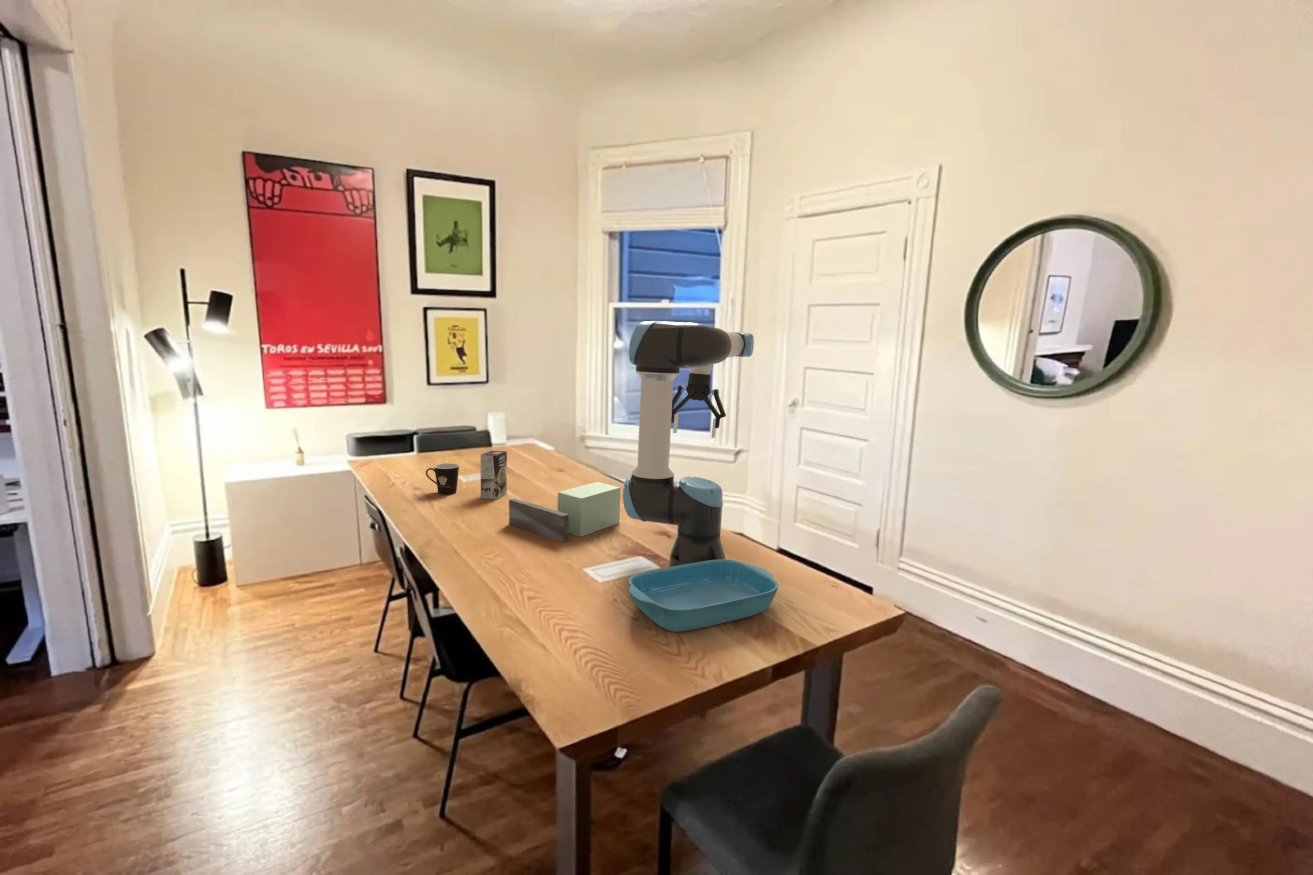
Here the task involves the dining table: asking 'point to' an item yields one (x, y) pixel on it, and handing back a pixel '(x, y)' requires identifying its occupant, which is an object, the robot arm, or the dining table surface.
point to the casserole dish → (702, 593)
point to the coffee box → (493, 474)
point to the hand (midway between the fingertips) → (693, 435)
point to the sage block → (590, 507)
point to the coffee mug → (445, 478)
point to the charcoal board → (539, 519)
